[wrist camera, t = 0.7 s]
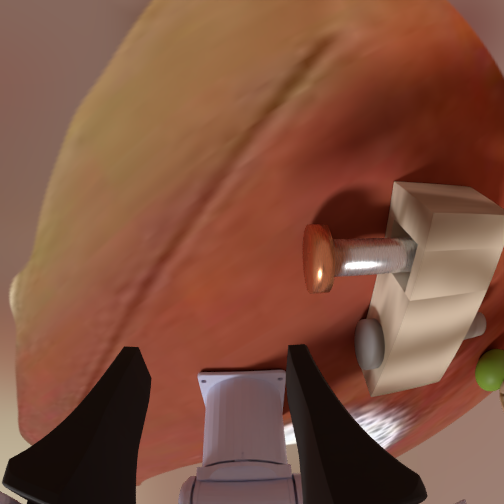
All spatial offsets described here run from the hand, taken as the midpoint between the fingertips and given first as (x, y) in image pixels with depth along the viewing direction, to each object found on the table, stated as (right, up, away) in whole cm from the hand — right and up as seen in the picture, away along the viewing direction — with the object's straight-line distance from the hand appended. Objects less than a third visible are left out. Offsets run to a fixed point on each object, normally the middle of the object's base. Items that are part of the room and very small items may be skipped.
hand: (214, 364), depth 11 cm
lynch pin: (+11, +5, +8) cm, 15 cm away
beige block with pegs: (+16, +2, +11) cm, 19 cm away
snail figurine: (+32, -9, +18) cm, 38 cm away
